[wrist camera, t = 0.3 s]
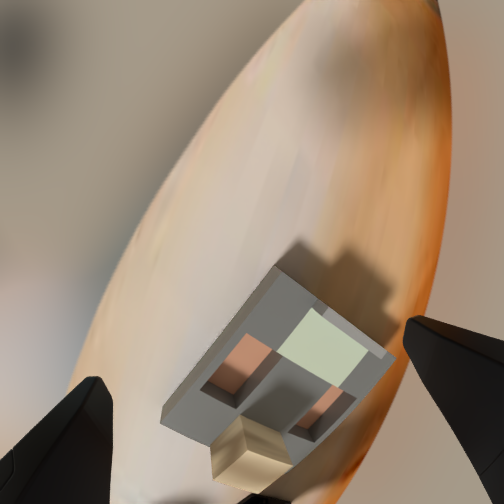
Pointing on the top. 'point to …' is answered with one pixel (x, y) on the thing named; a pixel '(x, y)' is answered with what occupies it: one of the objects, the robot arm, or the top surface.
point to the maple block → (249, 456)
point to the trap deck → (279, 370)
